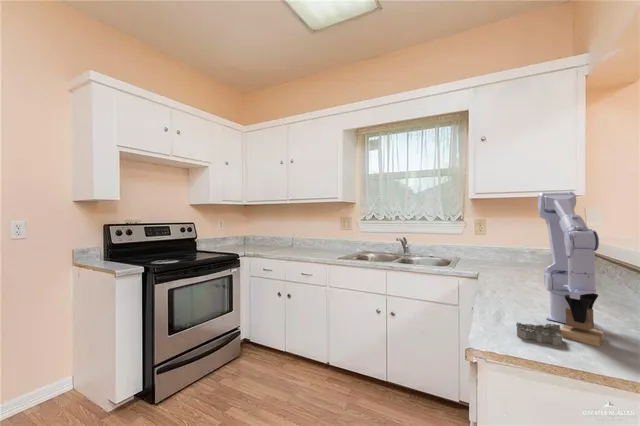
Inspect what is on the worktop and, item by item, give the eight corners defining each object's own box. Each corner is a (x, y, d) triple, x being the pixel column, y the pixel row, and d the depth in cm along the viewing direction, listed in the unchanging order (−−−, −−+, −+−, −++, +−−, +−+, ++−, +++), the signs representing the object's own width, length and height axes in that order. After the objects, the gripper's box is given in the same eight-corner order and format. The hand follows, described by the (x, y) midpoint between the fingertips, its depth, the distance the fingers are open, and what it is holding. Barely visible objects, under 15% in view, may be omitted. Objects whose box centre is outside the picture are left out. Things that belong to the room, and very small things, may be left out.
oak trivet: (567, 331, 88) (567, 322, 88) (604, 340, 81) (604, 331, 81) (560, 338, 83) (560, 329, 83) (598, 348, 77) (598, 338, 77)
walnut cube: (571, 321, 86) (570, 304, 86) (593, 326, 82) (593, 309, 82) (566, 325, 83) (565, 308, 83) (589, 330, 79) (588, 312, 79)
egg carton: (562, 339, 82) (562, 324, 82) (563, 349, 76) (563, 333, 76) (516, 329, 88) (516, 316, 88) (514, 338, 82) (514, 323, 83)
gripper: (570, 267, 90) (571, 311, 90) (555, 273, 81) (556, 321, 81) (601, 271, 84) (602, 317, 84) (589, 277, 76) (590, 329, 75)
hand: (581, 319), depth 82 cm, fingers closed on walnut cube, 5 cm apart
